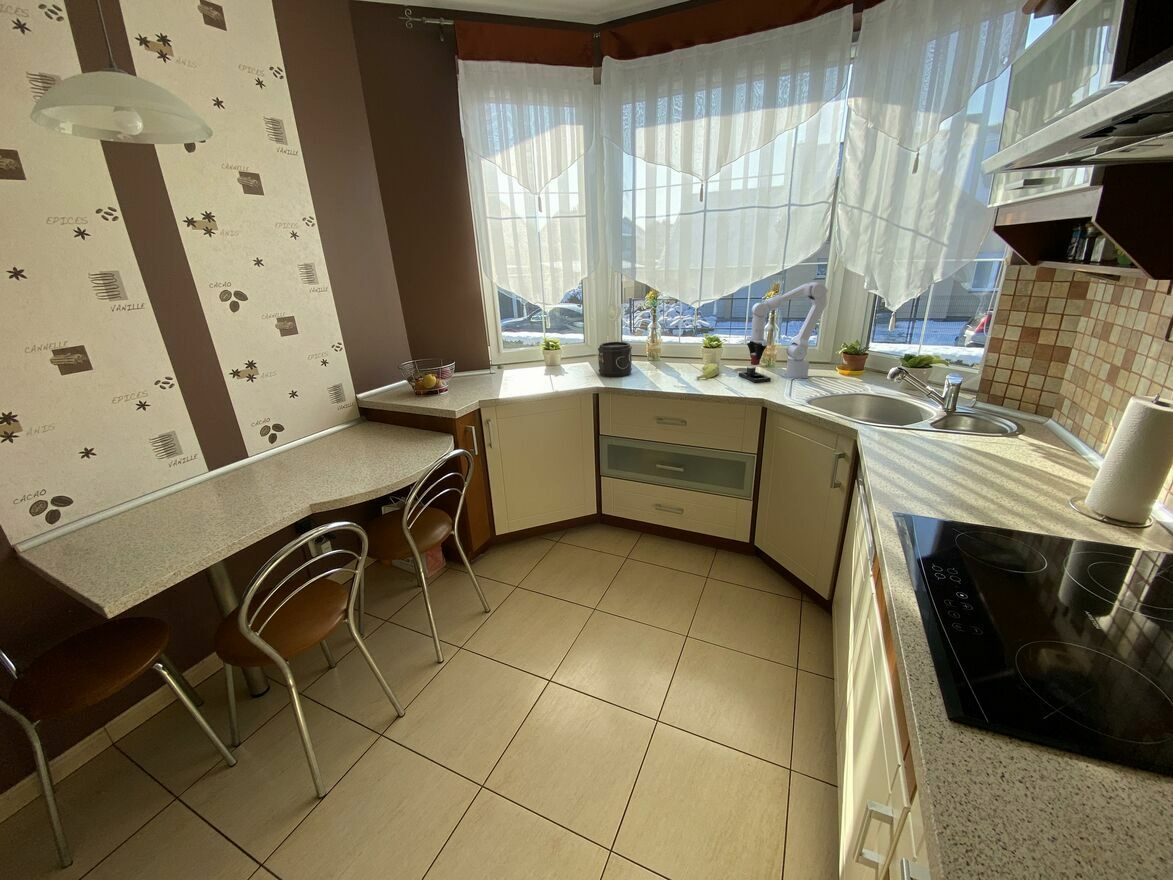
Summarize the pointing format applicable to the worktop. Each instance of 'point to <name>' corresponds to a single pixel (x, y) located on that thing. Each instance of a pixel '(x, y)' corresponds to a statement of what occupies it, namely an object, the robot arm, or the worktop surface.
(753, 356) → the pod
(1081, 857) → the worktop surface
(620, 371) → the dark cylindrical canister
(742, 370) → the coaster
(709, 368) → the pale green gourd
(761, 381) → the rack
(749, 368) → the pod
